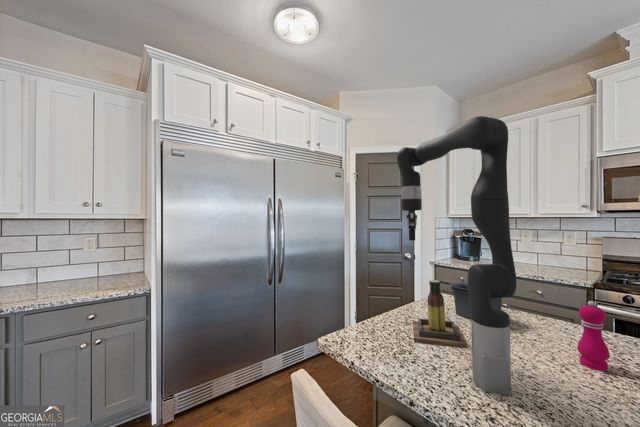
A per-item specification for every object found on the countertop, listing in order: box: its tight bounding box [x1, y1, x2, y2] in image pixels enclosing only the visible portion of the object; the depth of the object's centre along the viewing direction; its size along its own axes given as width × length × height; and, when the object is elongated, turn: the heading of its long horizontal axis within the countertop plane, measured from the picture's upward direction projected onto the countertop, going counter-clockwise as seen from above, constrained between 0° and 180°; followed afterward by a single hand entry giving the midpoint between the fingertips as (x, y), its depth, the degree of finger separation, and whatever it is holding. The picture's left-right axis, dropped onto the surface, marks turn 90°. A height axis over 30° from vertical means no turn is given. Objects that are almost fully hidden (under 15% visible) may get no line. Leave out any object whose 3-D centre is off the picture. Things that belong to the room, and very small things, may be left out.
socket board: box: [412, 318, 468, 349], centre depth 110 cm, size 18×18×4 cm
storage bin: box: [449, 281, 503, 319], centre depth 129 cm, size 21×16×14 cm
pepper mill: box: [576, 300, 610, 371], centre depth 87 cm, size 7×7×20 cm
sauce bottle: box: [427, 279, 446, 333], centre depth 111 cm, size 6×6×20 cm
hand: (412, 239), depth 109 cm, fingers open, 8 cm apart
